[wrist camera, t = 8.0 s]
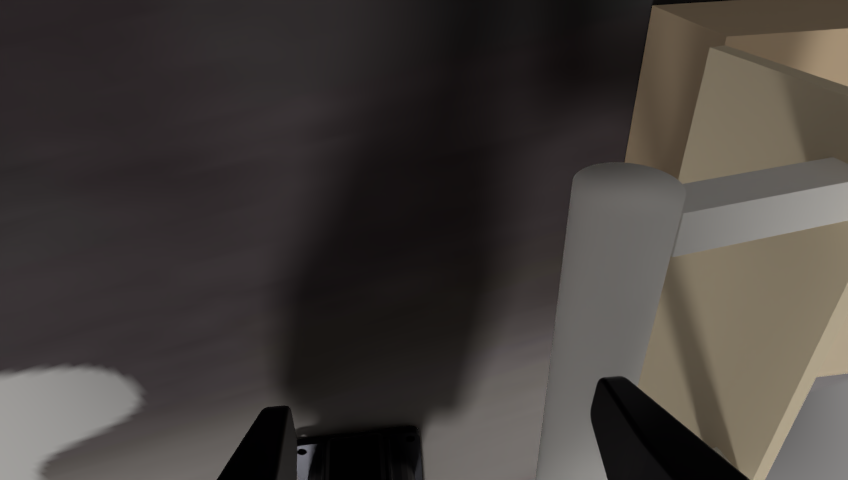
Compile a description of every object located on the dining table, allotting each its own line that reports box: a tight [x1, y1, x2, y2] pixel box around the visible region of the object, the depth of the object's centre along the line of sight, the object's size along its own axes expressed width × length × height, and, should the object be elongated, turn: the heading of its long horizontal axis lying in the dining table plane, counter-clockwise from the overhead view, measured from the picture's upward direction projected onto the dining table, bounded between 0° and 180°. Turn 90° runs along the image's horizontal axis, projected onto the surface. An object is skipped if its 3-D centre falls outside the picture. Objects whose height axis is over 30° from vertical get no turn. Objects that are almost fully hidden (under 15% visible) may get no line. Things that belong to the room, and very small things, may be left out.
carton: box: [624, 0, 848, 377], centre depth 21 cm, size 14×12×5 cm
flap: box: [536, 45, 848, 480], centre depth 16 cm, size 14×6×7 cm
